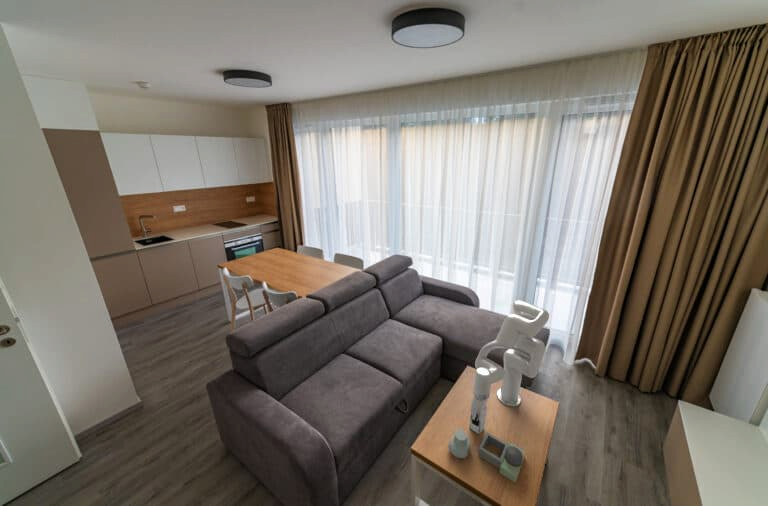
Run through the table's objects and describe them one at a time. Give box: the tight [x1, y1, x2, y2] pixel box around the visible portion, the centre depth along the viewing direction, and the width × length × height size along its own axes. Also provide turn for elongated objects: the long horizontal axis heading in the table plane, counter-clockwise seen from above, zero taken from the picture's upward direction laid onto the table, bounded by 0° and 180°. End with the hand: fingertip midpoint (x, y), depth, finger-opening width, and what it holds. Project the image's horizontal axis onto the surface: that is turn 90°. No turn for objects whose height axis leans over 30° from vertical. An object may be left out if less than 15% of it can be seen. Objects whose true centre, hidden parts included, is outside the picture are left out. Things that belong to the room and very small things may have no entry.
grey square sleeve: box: [477, 431, 526, 484], centre depth 132 cm, size 14×17×7 cm
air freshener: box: [448, 429, 472, 459], centre depth 135 cm, size 11×8×10 cm
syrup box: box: [468, 405, 488, 435], centre depth 145 cm, size 6×6×14 cm
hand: (477, 419), depth 145 cm, fingers closed on syrup box, 6 cm apart
